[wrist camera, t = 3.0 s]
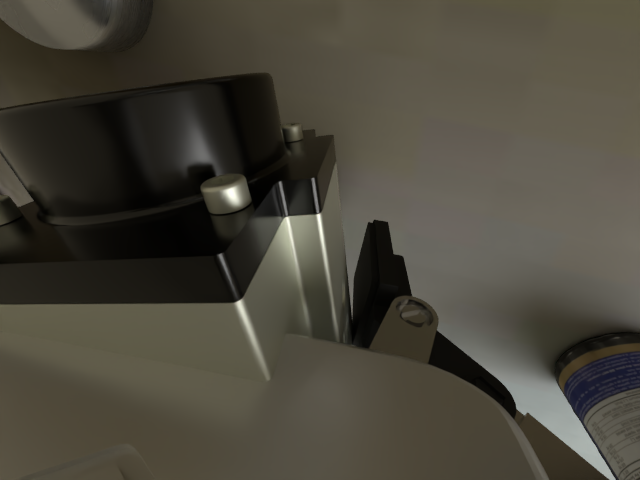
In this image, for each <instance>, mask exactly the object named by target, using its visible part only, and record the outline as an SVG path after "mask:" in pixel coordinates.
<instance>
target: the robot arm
mask: <svg viewBox="0 0 640 480" xmlns="http://www.w3.org/2000/svg"><path fill="white" fill-rule="evenodd" d="M352 325H353V328H352V345H354V346H352V345H347V344H343V343H338V342H333V341H328V340H323V339H318V338H313V337H308V336H303V335H298V334H291V333H287V334H285V336H284V340H283V343H282V346H281V350H280V353H279V357H278V360H277V363H276V367H275V370H274V374H273V377H272V378H271V380H269V381H267V382H259V381H254V380H250V379H245V378H240V377H235V376H230V375H225V374H220V373H215V372H211V371H206V370H201V369H196V368H191V367H186V366H181V365H176V364H171V363H166V362H161V361H156V360H151V359H146V358H141V357H136V356H130V355H125V354H120V353H115V352H110V351H105V350H100V349H95V348H89V347H84V346H79V345H74V344H69V343H64V342H59V341H54V340H48V339H43V338H37V337H32V336H26V335H21V334H16V333H10V332H5V331H0V480H609V479H608V478H606V477H605V476H604V475H603V474H602V473H600V472H599V471H598V470H597V469H596V468H594V467H593V466H592V465H591V464H589V463H588V462H587V461H586V460H585V459H583V458H582V457H581V456H580V455H579V454H577V453H576V452H575V451H574V450H572V449H571V448H570V447H569V446H568V445H566V444H565V443H564V442H563V441H562V440H560V439H559V438H558V437H557V436H555V435H554V434H553V433H552V432H551V431H549V430H548V429H547V428H546V427H545V426H543V425H542V424H541V423H540V422H538V421H537V420H536V419H535V418H534V417H532V416H531V415H530V414H529V413H527V414H526V415H523V414H522V413H520V412H519V411H518V410H517V409H516V404H515V402H514V399H513V397H512V395H511V394H510V392H509V391H508V390H507V388H506V387H505V386H504V385H503V384H502V383H501V382H500V381H499V380H498V379H497V378H495V377H494V376H493V375H492V374H490V373H489V372H488V371H487V370H485V369H484V368H483V367H482V366H480V365H479V364H478V363H477V362H475V361H474V360H473V359H472V358H471V357H469V356H468V355H467V354H466V353H464V352H463V351H462V350H461V349H459V348H458V347H457V346H456V345H454V344H453V343H452V342H451V341H449V340H448V339H447V338H446V337H444V336H443V335H442V334H441V333H439V332H438V331H437V327H438V316H437V314H436V312H435V311H434V309H433V308H432V307H431V306H430V305H429V304H427V303H426V302H424V301H423V300H421V299H418V298H416V297H412V294H411V289H410V285H409V280H408V276H407V271H406V267H405V262H404V258H403V256H400V255H394V254H393V249H392V243H391V237H390V231H389V225H388V222H384V221H378V220H374V221H373V223H370V222H368V225H367V229H366V233H365V236H364V240H363V244H362V248H361V252H360V256H359V260H358V264H357V267H356V271H355V276H354V291H353V319H352Z"/></svg>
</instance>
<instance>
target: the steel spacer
mask: <svg viewBox="0 0 640 480" xmlns="http://www.w3.org/2000/svg"><path fill="white" fill-rule="evenodd" d="M152 7H153V0H0V18H1V19H2V20H3V21H4V22H5V23H6V24H7V25H9V26H10V27H11V28H12V29H14V30H15V31H16V32H18V33H19V34H21V35H22V36H24V37H26V38H27V39H29V40H31V41H33V42H35V43H38V44H40V45H43V46H46V47H50V48H54V49H67V50H85V51H103V52H119V51H124V50H127V49H129V48H131V47H133V46H134V45H135V44H136V43H138V42H139V41H140V39H141V38H142V37H143V35H144V34H145V32H146V30H147V28H148V25H149V23H150V19H151V15H152Z"/></svg>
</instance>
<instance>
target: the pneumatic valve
mask: <svg viewBox="0 0 640 480" xmlns="http://www.w3.org/2000/svg"><path fill="white" fill-rule="evenodd" d="M0 154H1V155H2V157H3V158H4V159H5V161H6V162H7V164H8V165H9V166H10V168H11V169H12V171H13V172H14V173H15V175H16V176H17V178H18V179H19V181H20V182H21V183H22V185H23V186H24V188H25V189H26V190H27V192H28V193H29V195H30V196H31V198H32V199H33V200H34V201H33V202H30V203H28V204H25V205H23V206H21V207H17V206H16V204H15V203H14V202H13V200H12V199H11V198H10V197H9V196H7V195H0V331H5V332H10V333H16V334H21V335H26V336H32V337H37V338H43V339H48V340H54V341H59V342H64V343H69V344H74V345H79V346H84V347H89V348H95V349H100V350H105V351H110V352H115V353H120V354H125V355H130V356H136V357H141V358H146V359H151V360H156V361H161V362H166V363H171V364H176V365H181V366H186V367H191V368H196V369H201V370H206V371H211V372H215V373H220V374H225V375H230V376H235V377H240V378H245V379H250V380H254V381H259V382H267V381H269V380H271V378H272V377H273V374H274V370H275V367H276V363H277V360H278V357H279V353H280V350H281V346H282V343H283V340H284V336H285V334H287V333H291V334H298V335H303V336H308V337H313V338H318V339H323V340H328V341H333V342H338V343H343V344H347V345H352V328H353V325H352V315H351V305H350V295H349V285H348V275H347V265H346V255H345V245H344V235H343V225H342V215H341V205H340V195H339V185H338V175H337V165H336V155H335V145H334V135H327V136H318V137H316V135H315V130H314V129H312V130H304V131H302V127H301V124H299V123H291V124H285V125H282V126H281V122H280V117H279V111H278V106H277V101H276V95H275V90H274V84H273V79H272V77H271V75H270V74H268V73H250V74H240V75H231V76H222V77H214V78H206V79H198V80H190V81H182V82H175V83H167V84H160V85H152V86H145V87H138V88H130V89H123V90H116V91H109V92H102V93H95V94H89V95H82V96H75V97H68V98H62V99H55V100H49V101H42V102H36V103H30V104H24V105H18V106H12V107H6V108H1V109H0ZM352 346H354V345H352Z"/></svg>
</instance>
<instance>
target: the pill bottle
mask: <svg viewBox="0 0 640 480" xmlns="http://www.w3.org/2000/svg"><path fill="white" fill-rule="evenodd" d="M555 376H556V381H557V383H558V386H559V387H560V389H561V391H562V392H563V394H564V395H565V397H566V398H567V400H568V402H569V404H570V405H571V407H572V409H573V411H574V413H575V414H576V415H577V417H578V418H579V420H580V421H581V423H582V425H583V426H584V428H585V430H586V431H587V433H588V435H589V436H590V438H591V439H592V441H593V443H594V444H595V445H596V447H597V449H598V451H599V453H600V454H601V456H602V458H603V459H604V461H605V462H606V464H607V465H608V467H609V469H610V470H611V472H612V474H613V476H614V477H615V479H616V480H640V334H634V333H619V334H609V335H604V336H601V337H599V338H593V339H590V340H587V341H585V342H583V343H580V344H578V345H576V346H574V347H573V348H571V349H570V350H568V351H567V352H566V353H564V354H563V355H562V356H561V357H560V359H559V360H558V361H557V363H556V366H555Z"/></svg>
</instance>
